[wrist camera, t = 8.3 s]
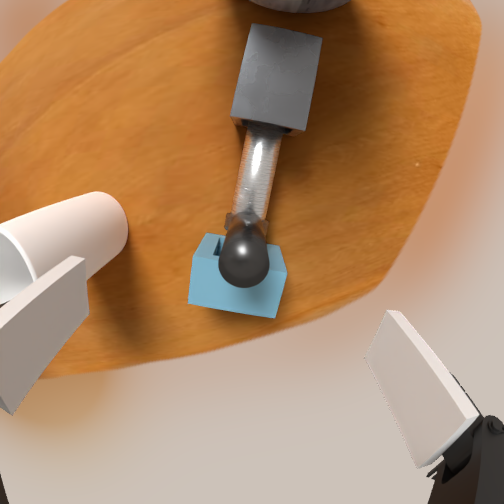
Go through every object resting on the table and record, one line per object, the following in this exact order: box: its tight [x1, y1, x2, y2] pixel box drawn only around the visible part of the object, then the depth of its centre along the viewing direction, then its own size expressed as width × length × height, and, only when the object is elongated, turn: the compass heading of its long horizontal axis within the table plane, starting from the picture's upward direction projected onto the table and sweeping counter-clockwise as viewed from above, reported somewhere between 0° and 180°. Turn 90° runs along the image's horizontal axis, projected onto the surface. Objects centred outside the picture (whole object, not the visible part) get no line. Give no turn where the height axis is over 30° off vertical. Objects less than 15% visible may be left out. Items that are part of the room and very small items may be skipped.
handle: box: [218, 120, 284, 288], centre depth 21 cm, size 17×4×12 cm, turn 169°
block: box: [230, 23, 323, 137], centre depth 21 cm, size 9×6×6 cm, turn 169°
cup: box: [0, 192, 128, 304], centre depth 21 cm, size 8×8×16 cm
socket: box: [188, 233, 287, 318], centre depth 27 cm, size 4×8×7 cm, turn 79°
